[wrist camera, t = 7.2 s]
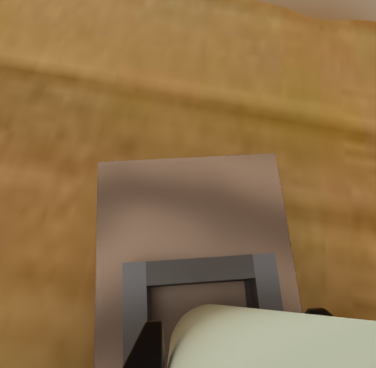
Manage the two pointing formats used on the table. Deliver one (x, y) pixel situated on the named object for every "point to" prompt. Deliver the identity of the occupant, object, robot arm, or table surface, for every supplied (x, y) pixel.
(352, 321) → the pale green peg
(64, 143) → the table surface
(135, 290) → the keeper
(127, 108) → the table surface
